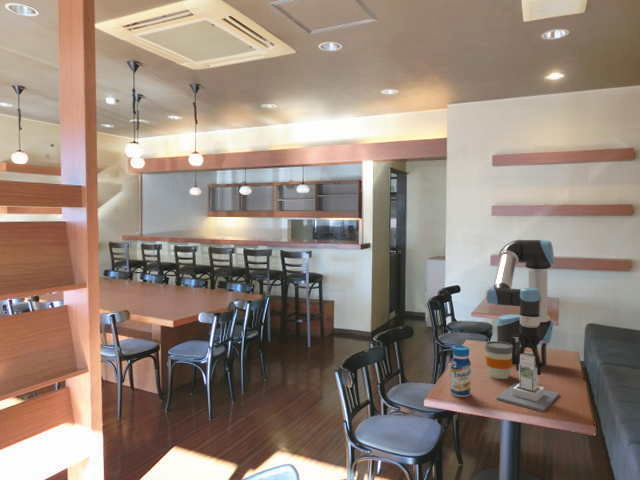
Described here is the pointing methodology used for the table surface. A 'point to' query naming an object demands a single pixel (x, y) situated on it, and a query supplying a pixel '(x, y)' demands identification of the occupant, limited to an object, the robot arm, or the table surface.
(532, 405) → the keeper board
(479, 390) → the table surface
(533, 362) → the syrup box
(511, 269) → the robot arm
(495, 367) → the reusable coffee cup
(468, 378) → the beverage bottle
